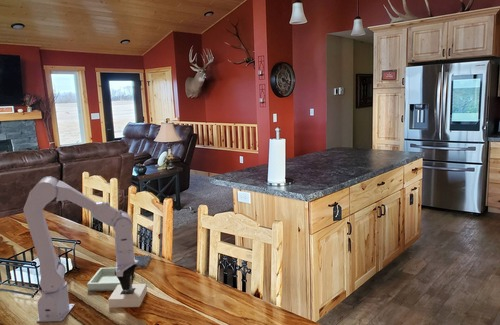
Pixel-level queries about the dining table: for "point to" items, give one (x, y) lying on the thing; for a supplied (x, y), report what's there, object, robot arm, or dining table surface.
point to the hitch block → (128, 296)
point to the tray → (104, 280)
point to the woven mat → (142, 261)
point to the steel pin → (129, 288)
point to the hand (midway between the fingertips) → (127, 286)
